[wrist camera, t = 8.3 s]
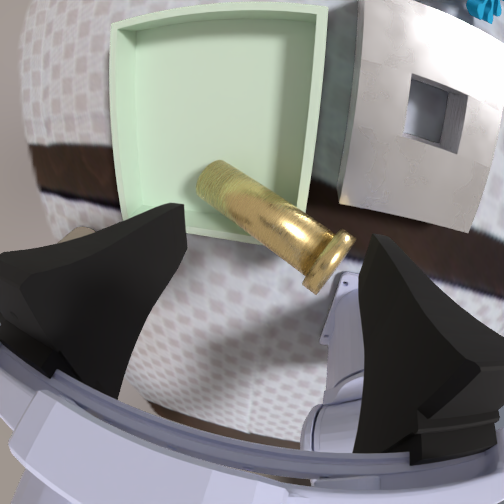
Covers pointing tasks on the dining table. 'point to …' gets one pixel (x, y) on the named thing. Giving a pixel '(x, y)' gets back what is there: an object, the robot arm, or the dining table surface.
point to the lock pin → (275, 223)
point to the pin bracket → (395, 107)
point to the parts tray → (215, 104)
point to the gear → (484, 9)
